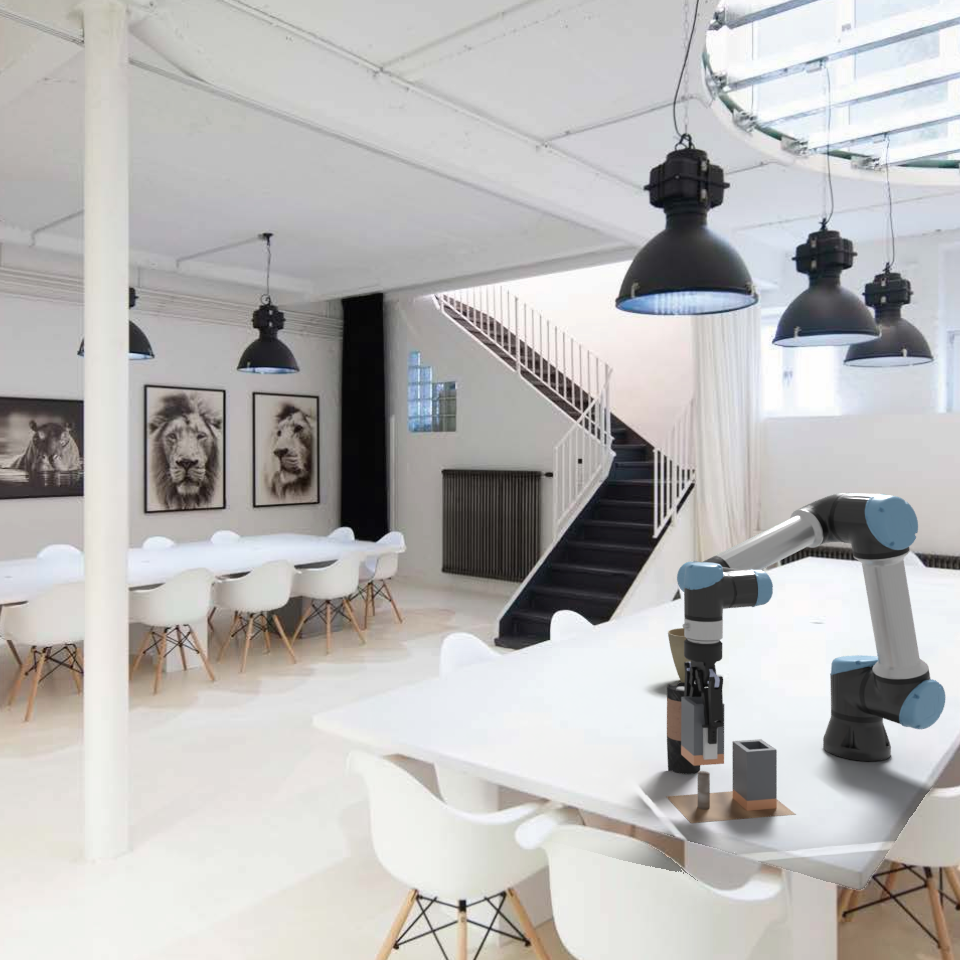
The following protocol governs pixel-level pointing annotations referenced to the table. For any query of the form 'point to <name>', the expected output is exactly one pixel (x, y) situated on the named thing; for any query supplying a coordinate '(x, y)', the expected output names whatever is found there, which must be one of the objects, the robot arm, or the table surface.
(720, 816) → the pinboard
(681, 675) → the plant pot
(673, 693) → the travel mug
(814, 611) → the table surface
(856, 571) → the table surface
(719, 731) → the banded sleeve
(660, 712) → the table surface
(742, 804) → the seated sleeve
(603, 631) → the table surface
